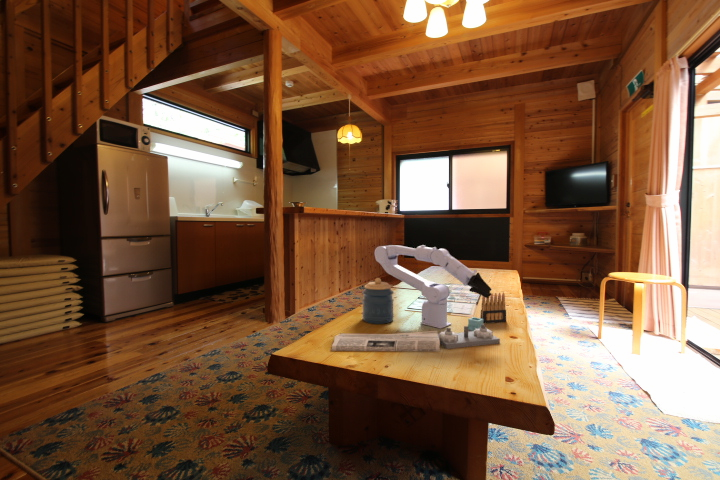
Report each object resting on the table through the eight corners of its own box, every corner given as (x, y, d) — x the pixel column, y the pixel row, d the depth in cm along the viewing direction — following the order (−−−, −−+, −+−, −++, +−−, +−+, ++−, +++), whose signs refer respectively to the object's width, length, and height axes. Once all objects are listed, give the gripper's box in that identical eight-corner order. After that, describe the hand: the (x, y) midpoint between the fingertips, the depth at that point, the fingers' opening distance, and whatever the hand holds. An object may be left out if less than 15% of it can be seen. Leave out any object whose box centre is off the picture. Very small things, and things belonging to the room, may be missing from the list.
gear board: (446, 348, 104) (446, 333, 104) (433, 339, 113) (433, 325, 113) (499, 343, 109) (499, 328, 109) (483, 334, 118) (483, 320, 118)
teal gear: (464, 329, 123) (464, 319, 123) (472, 326, 128) (472, 315, 127) (479, 333, 119) (479, 322, 119) (487, 329, 123) (487, 319, 123)
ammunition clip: (503, 320, 135) (504, 291, 134) (506, 321, 133) (507, 292, 132) (480, 322, 133) (480, 293, 132) (482, 323, 131) (483, 293, 130)
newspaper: (331, 352, 103) (331, 341, 103) (335, 338, 116) (335, 328, 116) (444, 353, 102) (444, 341, 102) (436, 339, 115) (436, 329, 114)
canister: (390, 325, 128) (390, 281, 127) (358, 323, 132) (358, 279, 131) (396, 316, 141) (396, 276, 140) (367, 314, 144) (366, 274, 144)
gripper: (464, 256, 117) (497, 280, 111) (466, 268, 130) (496, 290, 123) (451, 271, 117) (483, 296, 110) (455, 281, 129) (484, 304, 123)
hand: (489, 294), depth 117 cm, fingers open, 7 cm apart
